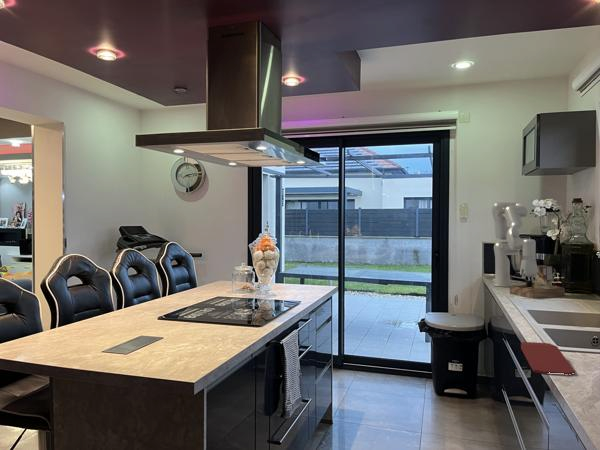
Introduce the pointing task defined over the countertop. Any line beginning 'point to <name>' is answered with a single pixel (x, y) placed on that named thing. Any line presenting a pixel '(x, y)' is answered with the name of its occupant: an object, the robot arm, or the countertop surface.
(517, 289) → the wooden cutting board
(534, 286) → the maple block
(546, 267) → the coffee box
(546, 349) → the dark red flat piece
